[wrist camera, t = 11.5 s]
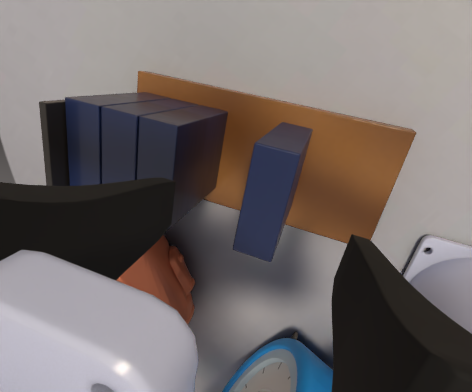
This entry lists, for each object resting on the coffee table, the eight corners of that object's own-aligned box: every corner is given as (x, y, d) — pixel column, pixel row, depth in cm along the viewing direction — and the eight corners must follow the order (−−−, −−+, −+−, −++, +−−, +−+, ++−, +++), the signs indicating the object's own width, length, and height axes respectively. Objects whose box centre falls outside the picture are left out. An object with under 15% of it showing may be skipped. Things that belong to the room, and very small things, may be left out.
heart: (45, 209, 20) (35, 339, 27) (204, 287, 20) (153, 400, 27) (101, 178, 26) (81, 294, 33) (228, 239, 25) (180, 344, 32)
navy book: (291, 207, 21) (270, 263, 14) (263, 199, 21) (231, 250, 15) (313, 129, 18) (301, 154, 12) (281, 121, 19) (254, 142, 13)
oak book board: (365, 242, 21) (382, 343, 13) (140, 174, 25) (46, 220, 17) (413, 129, 18) (475, 170, 10) (145, 71, 21) (31, 66, 13)
